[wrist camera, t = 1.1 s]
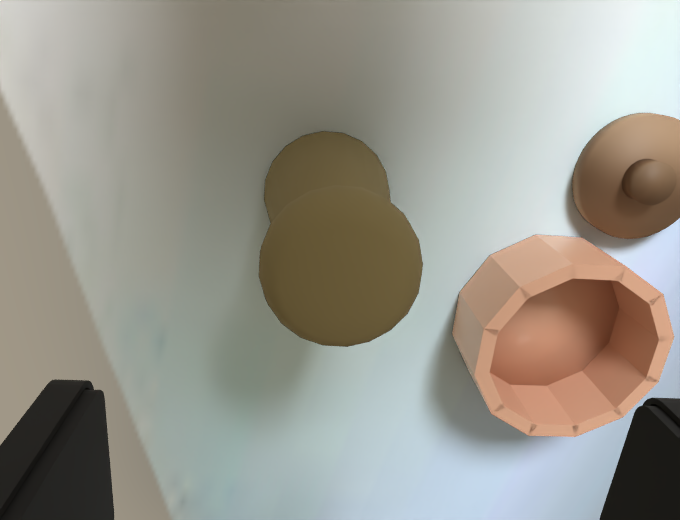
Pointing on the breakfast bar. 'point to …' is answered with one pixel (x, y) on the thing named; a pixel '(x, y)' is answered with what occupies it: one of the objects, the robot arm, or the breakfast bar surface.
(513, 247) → the pink faceted round bowl
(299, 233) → the cork
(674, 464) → the robot arm
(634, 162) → the lid
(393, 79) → the breakfast bar surface
